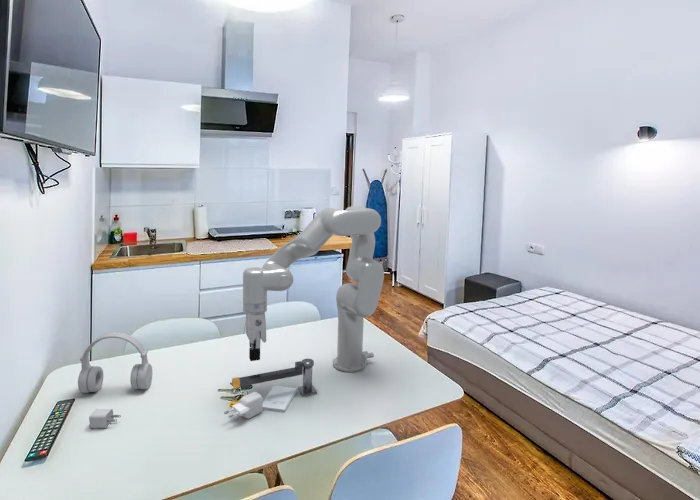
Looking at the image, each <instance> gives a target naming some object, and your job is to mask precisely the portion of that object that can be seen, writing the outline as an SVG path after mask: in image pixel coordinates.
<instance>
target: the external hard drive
mask: <svg viewBox="0 0 700 500" xmlns="http://www.w3.org/2000/svg"><path fill="white" fill-rule="evenodd" d="M297 391H298V388H296V387H289V386H288V387H287V386H281V385H279V386H278V385H273V387H272V388H271V389H270V390H269V392H268V393H267V395H266V396H265V398H264V399H263V400H262V404H263V409H262V411H268V412H269V411H274V412H278V413H286V411H287V409H288V407H289V406H290V404H291V402H292V401H293V399H294V397H295V395H296V393H297Z"/></svg>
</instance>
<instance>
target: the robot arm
mask: <svg viewBox="0 0 700 500" xmlns="http://www.w3.org/2000/svg"><path fill="white" fill-rule="evenodd" d="M381 224H382V218H381V215H380V214H379V212H378V211H377V210H375V209H373V208H368V207H363V206H359V205H358V206H357V205H352V206H348V207H346V208H345V210H343V209H338V208H334V207H333V208H332V207H326V208H324V209H322V210H320V211H319V212H318V214H317V215H315V216H314V218H313V219H312V220H311V221H310V223H308V224H307V226H306V227H305V228H304V229H303V230H302V231H301V232H300V233H299V234H298V235H297V236H296V237H295V238H293V239H291V240H290V241H288V242H287V243H285V244H284V245H282V246H281V247H280V248H278V249H277V250H276V251H275V252H273V254H272V255H271V256H270V257H269V258H268V259H267V260H266V261H265V263H264V264H263V266H262V267H257V266H256V267H255V266H253V267H248V268H246V269H244V270H243V273H242V312H243V313H245V334H246V337H247V338H248V341H249V348H248V349H249V350H248V351H249V353H248V355H249V356H248V357H249V361H251V362H254V361H260V360H261V341H262V343H264V344H265V343H266V342H267V323H266V322H267V321H266V312H267V311H268V292H269V291H270V292H283V291H287V290H288V289H290V288H291V287H292V286H293V284H294V276H293V274H292V272H291V271H290V270H289V269H288V268H289V267H291V265H292V264H294V263H296V261H298V260H301V259H304V258H310V257H312V256H314V255H315V256H316V254H318V252H319V251H320V250H321V249H322V248H323V247H324V246H325V244H326V243H327V242H328V241H329V240H330V238H332V237H333V236H334V235H335V236H337V237H350V236H351V246H350V251H349V255H348V259H347V263H346V269H345V272H346V275H347V277H348V278H349V279H350V280H352V281H354V282H357V283H358V284H355V283H352V282H348V283H344V284H342V285H340V287H339V288H338V289H337V291H336V295H335V296H336V297H335V298H336V299H335V300H336V301H335V302H336V308H337V343H336V344H337V347H336V348H337V349H336V350H337V351H336V353H337V354H336V355H337V356H336V357H335V358H333V360H332V366H333V368H335V369H336V370H338V371H340V372H345V373H357V372H360V371H362V370H364V369H365V368H366V366H367V361H366V360H367V359H372V358H374V356H375V354H374V352H368V350H365V351H363V347H364V346H363V344H364V322H365V321H364V318H369V317H370V316H372V315H373V314H374V313H375V311H376V309H377V307H378V304H379V299H380V297H381V293H382V289H383V284H384V279H385V271H384V267H383V265H382V264H381V263H380V262H379V261H377V260H375V259H373V257H374V254H375V253H374V252H375V247H376V237H375V232H377V231H378V229H379V228H380V227H381Z"/></svg>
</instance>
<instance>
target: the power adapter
mask: <svg viewBox="0 0 700 500" xmlns="http://www.w3.org/2000/svg"><path fill="white" fill-rule="evenodd" d="M262 402H263V396H262V394H261V393H259V392H257V391H253V392H250V393H248V394H246V395H244V396H242V397H241V398H240V400H239V402H237V403H235V404H234V405H232V406H231V408H229V409H228V410H226V411H224V412H223V414H224V415H226V414H229V413H231V412H233V413H232V414H230V415H228V418H229V419H230V418H231V419H232V418H233V417H235V416H238V417H241V416H242V417H243V418H244V419H246V420H247V419H248V420H250V419H251V418H253V417H256V416H257V415H259V414H261V413H262V412H263V410H262V409H263V404H262Z"/></svg>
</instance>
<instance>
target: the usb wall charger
mask: <svg viewBox="0 0 700 500" xmlns="http://www.w3.org/2000/svg"><path fill="white" fill-rule="evenodd" d="M116 418H117V419H116ZM118 418H122V415H121V414H114V409H113V408H96V409H95V410H93V411H92V413H90V414H89V417H88V419H89V428H90V429H108V428H109V426H110V425H111V424H112V423H117V422H118ZM111 422H112V423H111ZM110 423H111V424H110ZM109 424H110V425H109ZM108 425H109V426H108ZM107 427H108V428H107Z"/></svg>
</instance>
